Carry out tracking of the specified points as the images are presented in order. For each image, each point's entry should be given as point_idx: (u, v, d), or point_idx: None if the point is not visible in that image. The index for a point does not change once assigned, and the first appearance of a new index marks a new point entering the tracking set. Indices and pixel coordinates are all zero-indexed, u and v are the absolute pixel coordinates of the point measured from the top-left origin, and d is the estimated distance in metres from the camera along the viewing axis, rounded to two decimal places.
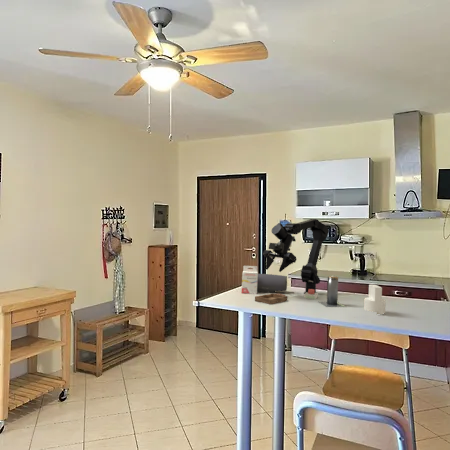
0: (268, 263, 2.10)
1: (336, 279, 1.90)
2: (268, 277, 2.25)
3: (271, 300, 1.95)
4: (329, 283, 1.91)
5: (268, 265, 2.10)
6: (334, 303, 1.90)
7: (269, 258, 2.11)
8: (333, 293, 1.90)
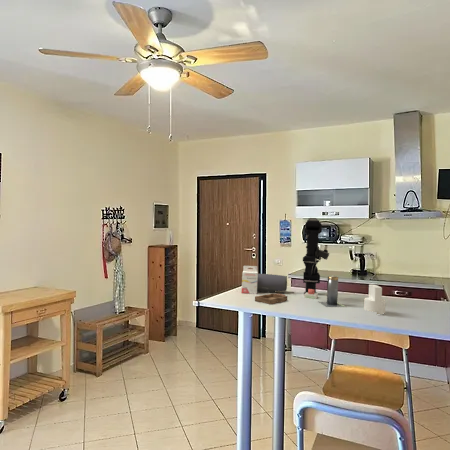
0: None
1: (336, 279, 1.90)
2: (268, 277, 2.25)
3: (271, 300, 1.95)
4: (329, 283, 1.91)
5: None
6: (334, 303, 1.90)
7: None
8: (333, 293, 1.90)
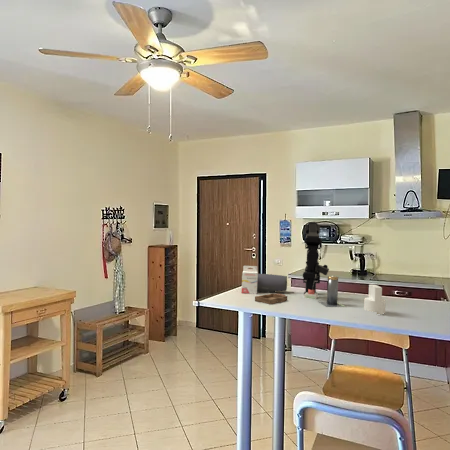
0: None
1: (336, 279, 1.90)
2: (268, 277, 2.25)
3: (271, 300, 1.95)
4: (329, 283, 1.91)
5: None
6: (334, 303, 1.90)
7: None
8: (333, 293, 1.90)
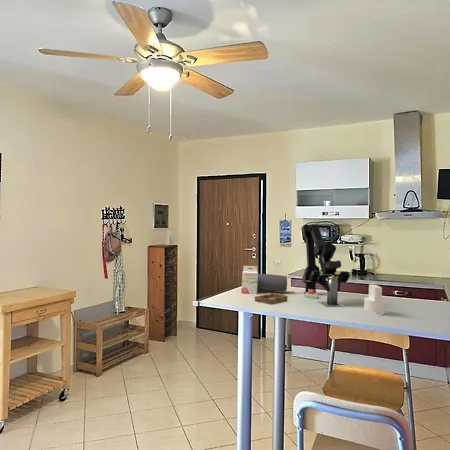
0: None
1: (336, 279, 1.90)
2: (268, 277, 2.25)
3: (271, 300, 1.95)
4: (329, 283, 1.91)
5: None
6: (334, 303, 1.90)
7: None
8: (333, 293, 1.90)
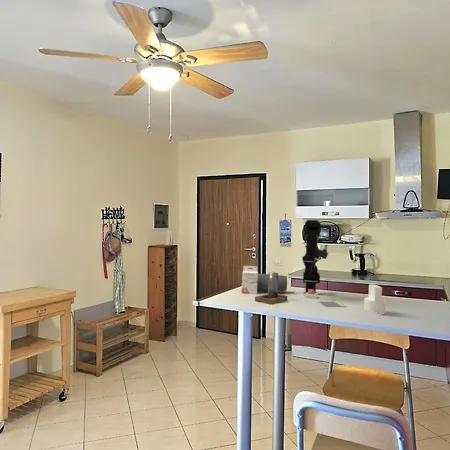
0: None
1: (272, 275, 2.01)
2: None
3: (271, 300, 1.95)
4: None
5: None
6: (270, 297, 2.01)
7: None
8: (269, 288, 2.02)
